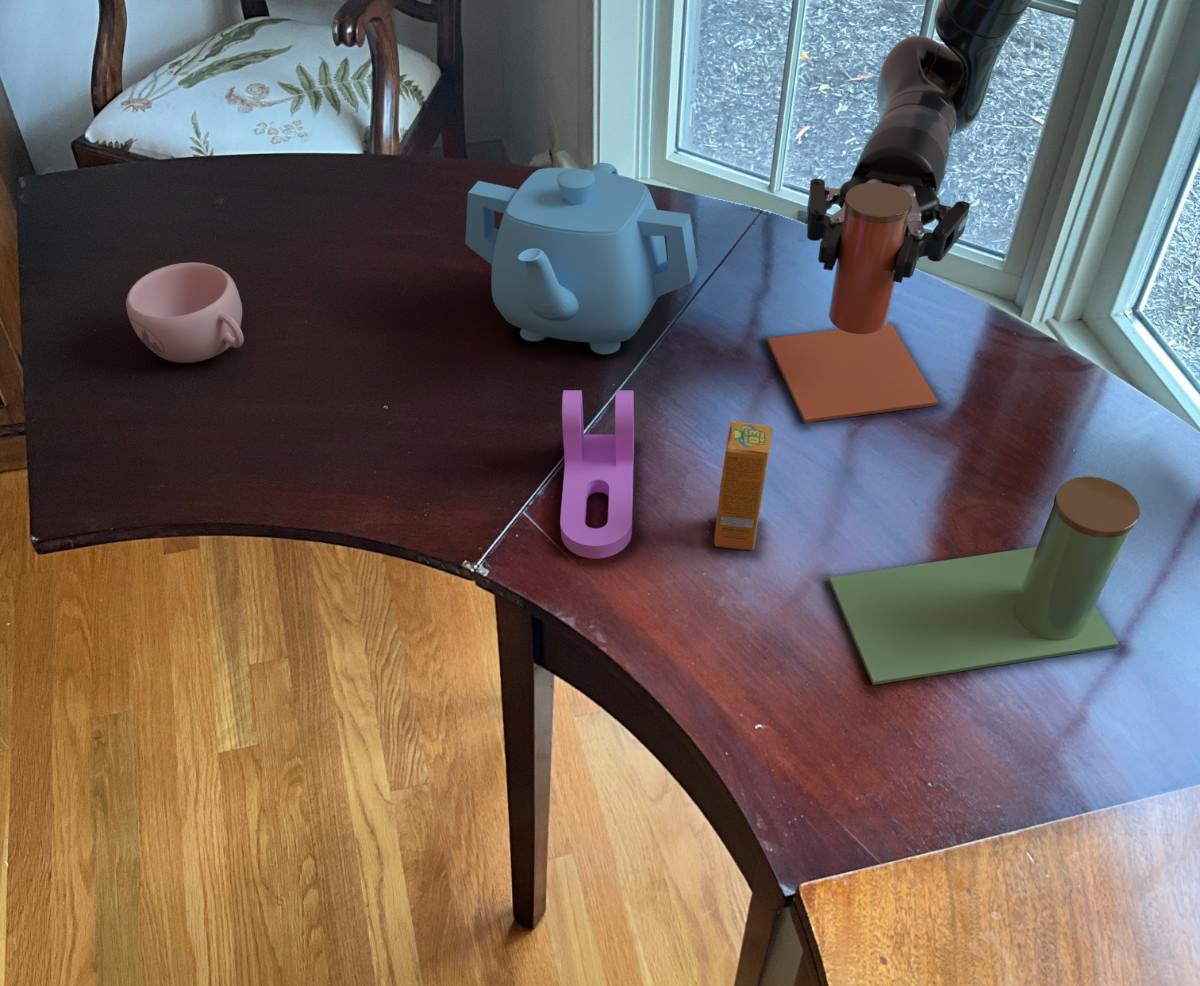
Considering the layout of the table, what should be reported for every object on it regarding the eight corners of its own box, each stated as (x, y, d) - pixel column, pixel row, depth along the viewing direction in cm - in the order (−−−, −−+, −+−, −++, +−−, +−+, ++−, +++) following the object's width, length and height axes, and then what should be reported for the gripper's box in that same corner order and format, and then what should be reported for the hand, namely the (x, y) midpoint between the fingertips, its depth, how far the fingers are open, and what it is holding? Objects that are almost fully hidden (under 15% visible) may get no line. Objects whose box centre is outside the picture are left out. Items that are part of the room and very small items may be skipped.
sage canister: (1068, 582, 82) (1116, 471, 74) (1101, 635, 79) (1155, 525, 70) (1001, 592, 82) (1042, 481, 73) (1031, 646, 78) (1077, 536, 70)
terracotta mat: (890, 326, 104) (891, 322, 104) (937, 405, 96) (938, 401, 96) (766, 341, 103) (767, 338, 103) (804, 423, 95) (804, 419, 95)
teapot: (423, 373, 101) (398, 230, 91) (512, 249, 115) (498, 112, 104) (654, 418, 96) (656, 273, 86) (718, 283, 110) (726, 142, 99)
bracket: (568, 447, 94) (564, 380, 89) (633, 447, 94) (633, 380, 89) (559, 558, 86) (553, 491, 80) (631, 558, 85) (630, 492, 80)
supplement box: (758, 552, 85) (769, 453, 78) (713, 547, 86) (720, 449, 78) (760, 522, 88) (772, 423, 80) (717, 518, 88) (724, 419, 80)
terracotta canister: (889, 302, 97) (912, 184, 89) (888, 337, 94) (912, 218, 85) (829, 297, 98) (846, 180, 89) (826, 332, 94) (844, 214, 86)
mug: (121, 354, 104) (99, 300, 100) (199, 302, 110) (181, 248, 105) (212, 395, 100) (192, 340, 96) (288, 339, 105) (273, 285, 101)
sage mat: (1055, 547, 85) (1056, 543, 85) (1117, 647, 78) (1118, 643, 78) (828, 580, 83) (829, 577, 83) (872, 685, 77) (873, 681, 76)
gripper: (828, 113, 98) (781, 209, 88) (994, 136, 95) (965, 239, 84) (818, 192, 104) (772, 291, 94) (974, 216, 100) (944, 322, 90)
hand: (864, 265), depth 89 cm, fingers closed on terracotta canister, 5 cm apart
